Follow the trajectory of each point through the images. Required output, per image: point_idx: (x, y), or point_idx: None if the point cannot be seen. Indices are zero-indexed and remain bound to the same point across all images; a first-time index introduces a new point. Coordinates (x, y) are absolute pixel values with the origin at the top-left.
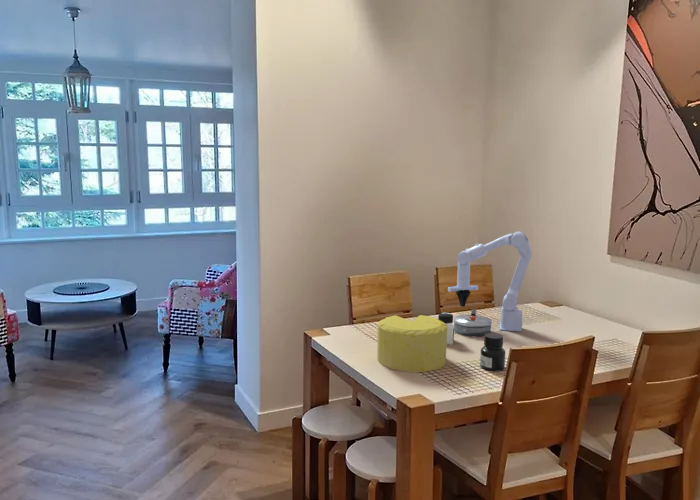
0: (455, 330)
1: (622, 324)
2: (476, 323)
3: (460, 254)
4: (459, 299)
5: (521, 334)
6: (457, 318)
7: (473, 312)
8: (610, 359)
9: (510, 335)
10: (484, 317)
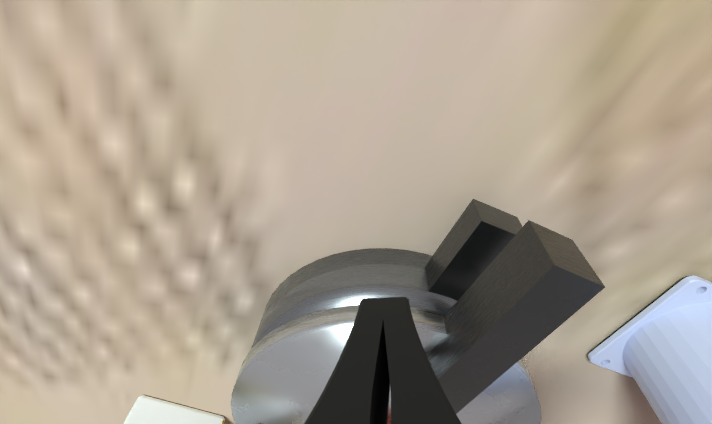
0: None
1: None
2: None
3: None
4: (335, 391)
5: (646, 419)
6: (263, 393)
7: (452, 391)
8: None
9: (567, 420)
10: (515, 410)
